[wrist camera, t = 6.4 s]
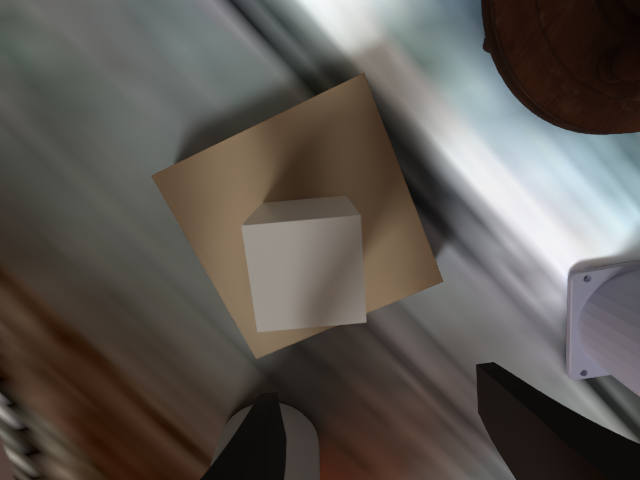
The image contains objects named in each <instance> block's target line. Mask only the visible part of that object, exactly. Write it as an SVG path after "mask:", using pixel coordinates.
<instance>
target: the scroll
mask: <svg viewBox="0 0 640 480" xmlns="http://www.w3.org/2000/svg"><path fill="white" fill-rule="evenodd" d="M481 5H482V18H483V26H484V31H485V36H486V38H485V39H484V43H483V49H484V51H486V52H488V53H491V56H492V59H493V61H494V64H495V66H496V68H497V70H498V72H499V74H500V76H501V77H502V79H503V81H504V82H505V84H506V85H507V87H508V88H509V89H510V91H511V92H512V93H513V95H514V96H515V97H516V98H517V99H518V100H519V101H520V102H521V103H522V104H523V105H524V106H525V107H526V108H527V109H529V110H530V111H531V112H532V113H534V114H535V115H537V116H538V117H540V118H541V119H543V120H545V121H547V122H549V123H551V124H553V125H555V126H557V127H560V128H563V129H565V130H569V131H573V132H577V133H584V134H595V135H608V134H623V133H635V132H640V0H481Z"/></svg>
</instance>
